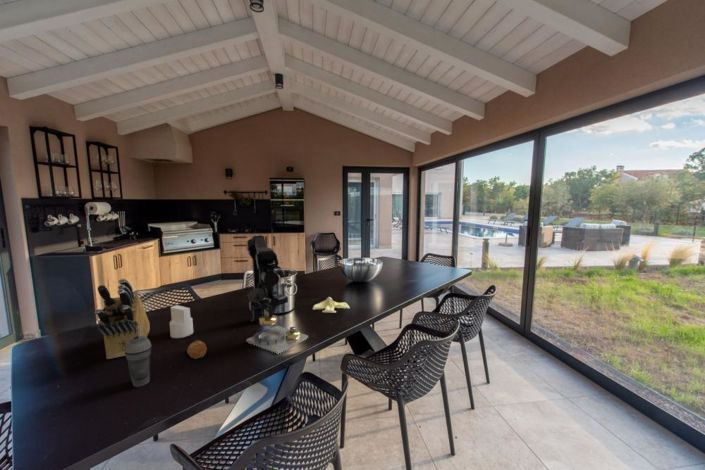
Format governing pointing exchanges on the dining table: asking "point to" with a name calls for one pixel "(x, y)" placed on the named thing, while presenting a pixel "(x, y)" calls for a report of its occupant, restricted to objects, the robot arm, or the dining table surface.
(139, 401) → the dining table surface
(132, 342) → the beverage cup
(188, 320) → the cylinder with rectangular tab
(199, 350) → the pastry
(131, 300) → the knife block
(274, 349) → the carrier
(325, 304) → the bird figurine
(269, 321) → the gear
